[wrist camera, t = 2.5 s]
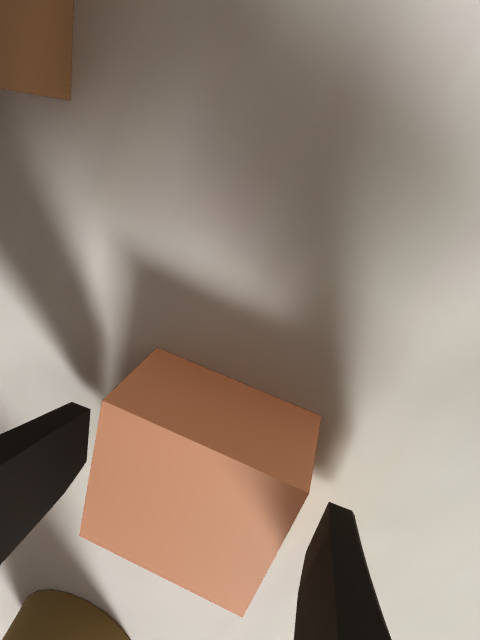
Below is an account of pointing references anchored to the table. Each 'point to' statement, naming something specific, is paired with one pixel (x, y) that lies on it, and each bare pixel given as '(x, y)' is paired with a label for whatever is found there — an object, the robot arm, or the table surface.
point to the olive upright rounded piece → (62, 619)
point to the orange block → (198, 477)
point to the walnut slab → (36, 47)
